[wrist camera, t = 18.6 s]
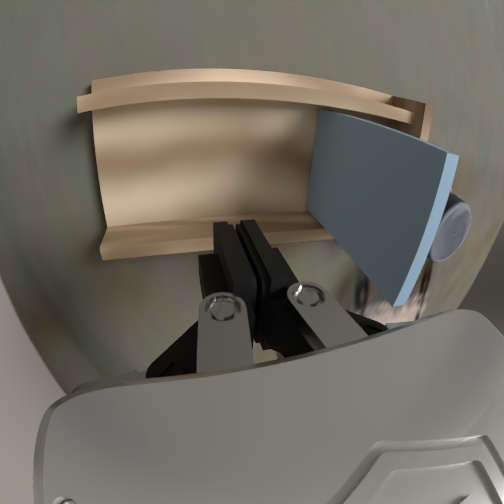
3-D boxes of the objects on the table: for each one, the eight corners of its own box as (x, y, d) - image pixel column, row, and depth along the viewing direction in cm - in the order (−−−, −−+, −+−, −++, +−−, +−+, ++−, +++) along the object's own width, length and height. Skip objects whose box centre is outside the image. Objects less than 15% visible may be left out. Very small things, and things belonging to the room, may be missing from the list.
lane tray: (368, 222, 27) (397, 249, 23) (114, 242, 21) (103, 280, 17) (393, 97, 19) (433, 106, 15) (95, 81, 14) (70, 80, 10)
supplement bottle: (308, 158, 20) (409, 230, 11) (363, 118, 19) (478, 164, 10) (339, 210, 24) (423, 292, 15) (387, 172, 23) (481, 235, 14)
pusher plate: (316, 207, 23) (405, 303, 13) (305, 208, 22) (392, 307, 13) (330, 110, 18) (459, 156, 9) (318, 108, 18) (447, 152, 8)
